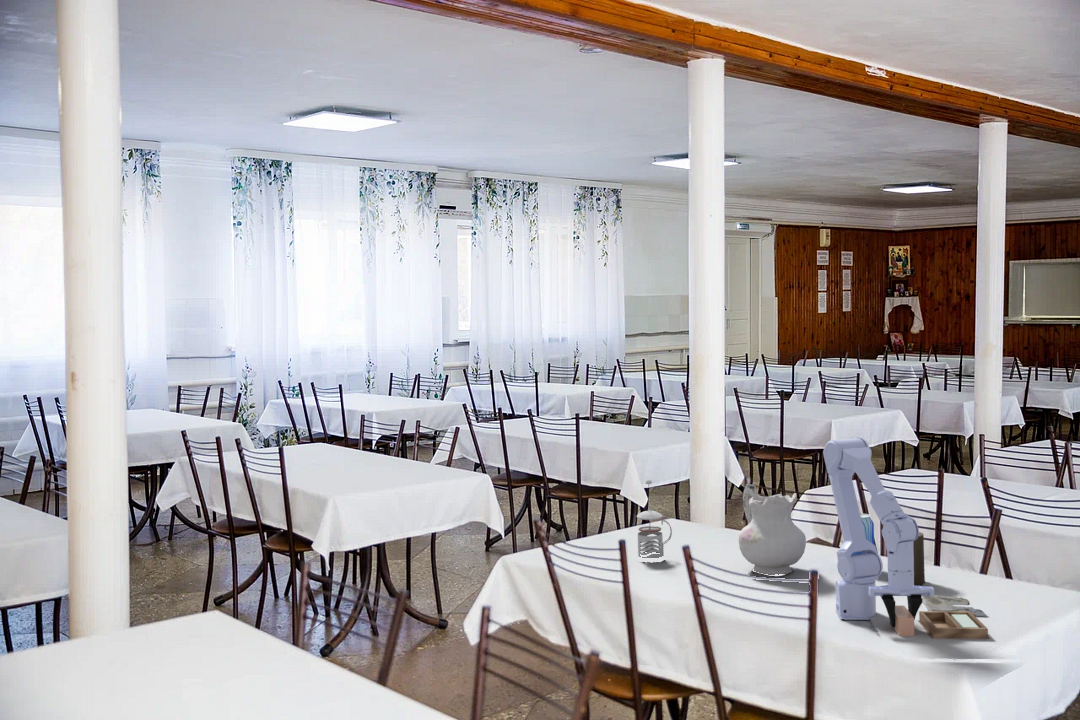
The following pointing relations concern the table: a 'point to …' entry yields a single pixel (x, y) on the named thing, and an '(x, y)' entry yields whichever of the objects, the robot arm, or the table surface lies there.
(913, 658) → the table surface
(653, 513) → the french press
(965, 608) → the fossil rock
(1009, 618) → the table surface
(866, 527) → the beer can
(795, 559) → the ceramic pitcher
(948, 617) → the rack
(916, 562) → the pillar candle
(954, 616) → the glazed tile
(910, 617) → the clay bar
